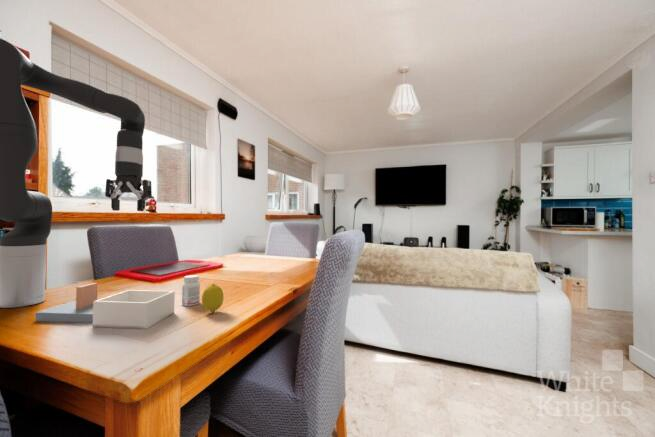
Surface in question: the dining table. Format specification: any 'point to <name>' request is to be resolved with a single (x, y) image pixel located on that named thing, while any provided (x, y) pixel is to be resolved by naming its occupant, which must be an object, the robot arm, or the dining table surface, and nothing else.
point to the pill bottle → (191, 290)
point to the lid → (73, 307)
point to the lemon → (212, 298)
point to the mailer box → (133, 309)
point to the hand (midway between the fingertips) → (128, 210)
